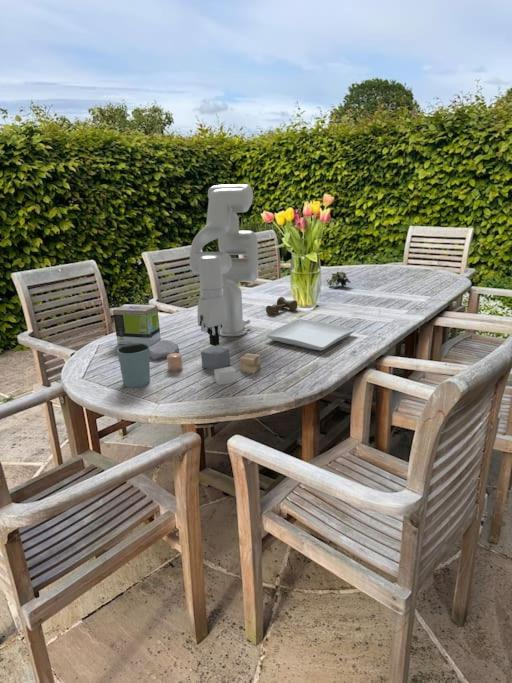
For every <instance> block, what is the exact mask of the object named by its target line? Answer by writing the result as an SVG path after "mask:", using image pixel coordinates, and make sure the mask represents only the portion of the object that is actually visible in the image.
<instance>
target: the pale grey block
mask: <svg viewBox="0 0 512 683" xmlns="http://www.w3.org/2000/svg"><path fill="white" fill-rule="evenodd" d="M213 372H214V382H215V383H216V384H217V385H219V386H221V385H225V384H231V383H235V382H237V370H236V369H235V368H234V367H233V366H226V367H224V368H220V369H214V370H213Z"/></svg>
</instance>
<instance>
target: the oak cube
mask: <svg viewBox="0 0 512 683" xmlns="http://www.w3.org/2000/svg"><path fill="white" fill-rule="evenodd" d="M239 362H240V363H239V364H240V366H239V367H240V372H244V373H250V374H255V373H257V371H259V370H260V369H261V355H260V354H255V353H248V352H246V353H245V354H244V355H241V357H240V358H239Z"/></svg>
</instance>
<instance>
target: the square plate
mask: <svg viewBox="0 0 512 683" xmlns="http://www.w3.org/2000/svg"><path fill="white" fill-rule="evenodd" d="M355 331H356V329H354V328H353V327H352V328H351V327H348V326H347V327H346V326H343V325H337V324H332V323H329V322H322V321H317V320H311V319H305V318H298V319H295V320H293V321H290V322H288V323H286V324H283V325H281V326H279V327H276V328H275V329H273V330H270V331H268V332H267V333H265V334H264V335H265V337H267V339H270V340H272V341H275V342H280V343H282V344H286V345H292V346H295V347H299V348H303V349H304V348H305V349H308V350H317V351H324V350H326V349H327V348H329V347H331V346H333V345H335V344H336V343H338V342H340V341H341V340H344V339H346V338H348V337H349V336H351V335H352V334H353V333H354V332H355Z"/></svg>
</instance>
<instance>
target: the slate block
mask: <svg viewBox="0 0 512 683" xmlns="http://www.w3.org/2000/svg"><path fill="white" fill-rule="evenodd" d="M200 354H201V356H200V357H201V368H203V369H208V370H213V371H214V369H220V368H225V367H229V365H231V360H230V359H231V358H230V357H231V356H230V348H227V347H221V346H219V345H217V346H214V345H211V346H209V347H207V348H206V349H205V348H204V350H201V351H200Z"/></svg>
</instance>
